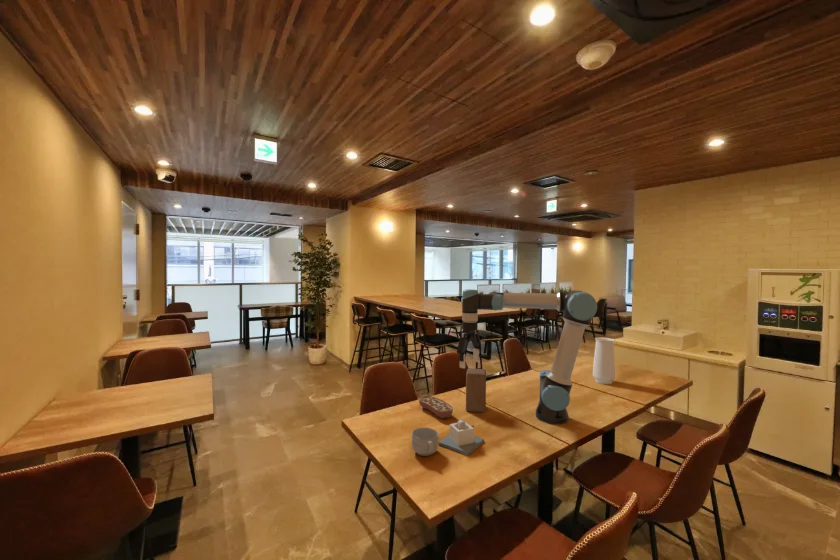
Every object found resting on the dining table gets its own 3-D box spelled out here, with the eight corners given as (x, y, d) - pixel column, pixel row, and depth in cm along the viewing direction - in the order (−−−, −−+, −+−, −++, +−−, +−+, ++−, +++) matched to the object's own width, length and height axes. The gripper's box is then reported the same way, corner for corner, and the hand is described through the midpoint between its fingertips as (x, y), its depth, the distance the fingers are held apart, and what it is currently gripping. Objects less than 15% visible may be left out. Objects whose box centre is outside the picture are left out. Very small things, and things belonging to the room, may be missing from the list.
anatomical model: (415, 407, 185) (415, 398, 185) (430, 403, 191) (430, 394, 190) (442, 423, 166) (442, 413, 166) (457, 418, 172) (458, 408, 172)
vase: (619, 385, 220) (620, 341, 219) (598, 385, 220) (599, 341, 219) (608, 378, 233) (609, 337, 232) (588, 378, 233) (589, 337, 232)
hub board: (483, 441, 149) (484, 420, 148) (467, 455, 137) (468, 432, 137) (455, 432, 157) (455, 412, 157) (438, 444, 146) (438, 423, 145)
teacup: (411, 445, 145) (411, 426, 145) (436, 444, 146) (437, 425, 146) (413, 464, 131) (413, 443, 131) (441, 463, 132) (441, 442, 132)
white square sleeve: (458, 446, 142) (458, 431, 142) (449, 438, 149) (449, 424, 149) (477, 441, 146) (477, 427, 146) (468, 433, 153) (468, 420, 152)
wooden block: (485, 413, 177) (485, 374, 176) (465, 411, 179) (465, 373, 178) (485, 405, 187) (486, 368, 186) (467, 404, 189) (467, 367, 188)
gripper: (475, 317, 181) (474, 358, 182) (449, 323, 161) (449, 369, 162) (488, 319, 177) (487, 360, 178) (463, 325, 157) (463, 372, 158)
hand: (469, 364), depth 170 cm, fingers open, 13 cm apart
